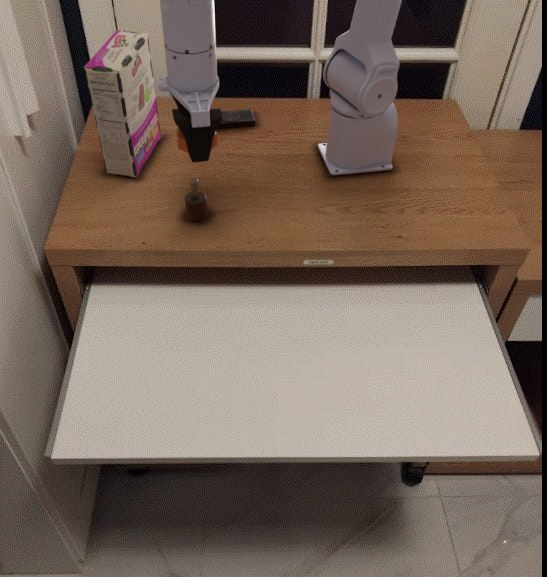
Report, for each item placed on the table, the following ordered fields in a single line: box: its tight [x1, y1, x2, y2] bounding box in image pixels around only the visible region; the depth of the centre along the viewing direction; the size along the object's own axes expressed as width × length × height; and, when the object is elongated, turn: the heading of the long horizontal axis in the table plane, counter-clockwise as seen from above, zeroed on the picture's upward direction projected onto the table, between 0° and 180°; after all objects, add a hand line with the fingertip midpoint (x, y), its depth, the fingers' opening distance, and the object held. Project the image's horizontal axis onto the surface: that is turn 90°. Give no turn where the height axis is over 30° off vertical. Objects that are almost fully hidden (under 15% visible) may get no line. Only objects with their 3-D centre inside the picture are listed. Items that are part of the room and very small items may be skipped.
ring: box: [175, 127, 218, 154], centre depth 79 cm, size 5×5×2 cm
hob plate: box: [217, 108, 256, 130], centre depth 101 cm, size 8×4×1 cm, turn 102°
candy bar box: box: [83, 30, 162, 179], centre depth 89 cm, size 11×5×16 cm, turn 168°
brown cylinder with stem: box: [184, 178, 208, 222], centre depth 83 cm, size 3×3×6 cm
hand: (197, 148), depth 80 cm, fingers closed on ring, 5 cm apart
